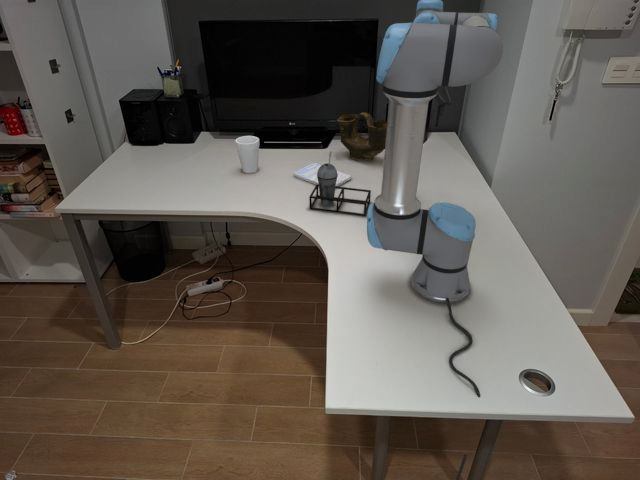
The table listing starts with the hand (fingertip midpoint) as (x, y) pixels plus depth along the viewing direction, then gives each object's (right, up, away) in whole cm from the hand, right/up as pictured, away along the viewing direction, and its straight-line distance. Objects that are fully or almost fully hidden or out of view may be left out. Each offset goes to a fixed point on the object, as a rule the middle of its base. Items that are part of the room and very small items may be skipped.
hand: (415, 123), depth 148 cm
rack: (-25, -27, +10) cm, 38 cm away
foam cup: (-61, -10, +36) cm, 72 cm away
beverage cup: (-30, -26, +11) cm, 41 cm away
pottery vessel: (-14, -3, +47) cm, 49 cm away
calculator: (-31, -14, +30) cm, 45 cm away
